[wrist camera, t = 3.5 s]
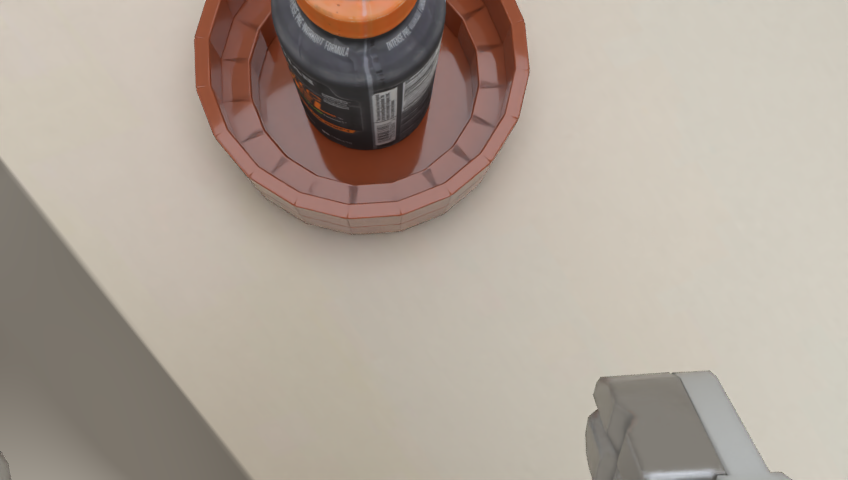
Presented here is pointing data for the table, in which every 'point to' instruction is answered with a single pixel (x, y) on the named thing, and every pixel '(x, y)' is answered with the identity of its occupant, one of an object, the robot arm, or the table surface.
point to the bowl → (351, 168)
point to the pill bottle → (362, 64)
